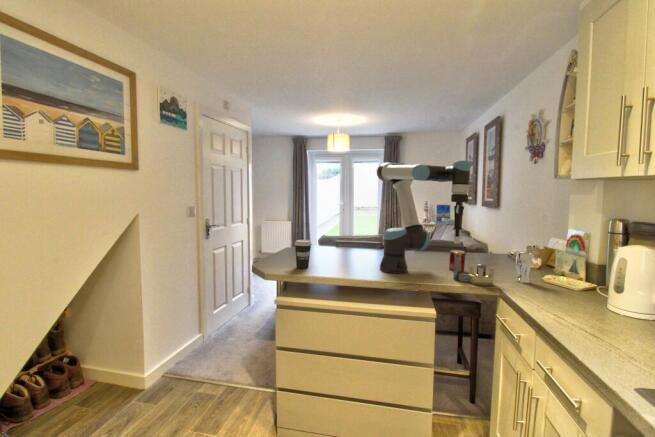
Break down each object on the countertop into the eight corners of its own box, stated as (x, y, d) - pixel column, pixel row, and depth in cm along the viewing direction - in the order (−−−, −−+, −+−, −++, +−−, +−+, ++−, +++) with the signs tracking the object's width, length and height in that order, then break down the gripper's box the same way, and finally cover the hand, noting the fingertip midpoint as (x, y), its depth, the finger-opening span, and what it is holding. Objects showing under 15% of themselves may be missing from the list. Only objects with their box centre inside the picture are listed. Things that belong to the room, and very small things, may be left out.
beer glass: (530, 284, 160) (532, 254, 159) (513, 281, 164) (516, 252, 162) (530, 281, 166) (532, 252, 165) (514, 279, 170) (516, 250, 168)
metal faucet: (493, 282, 161) (495, 254, 160) (492, 287, 151) (494, 258, 150) (454, 276, 170) (456, 250, 168) (451, 281, 160) (452, 253, 159)
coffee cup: (290, 268, 178) (291, 241, 176) (298, 264, 186) (299, 239, 185) (306, 270, 174) (307, 242, 173) (313, 266, 183) (314, 240, 182)
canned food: (465, 272, 181) (466, 252, 180) (450, 271, 182) (451, 251, 182) (462, 269, 188) (463, 250, 188) (448, 268, 190) (449, 249, 189)
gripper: (466, 193, 146) (463, 245, 148) (469, 194, 158) (466, 242, 160) (449, 193, 150) (446, 244, 152) (453, 193, 161) (450, 240, 163)
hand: (456, 243), depth 156 cm, fingers closed
